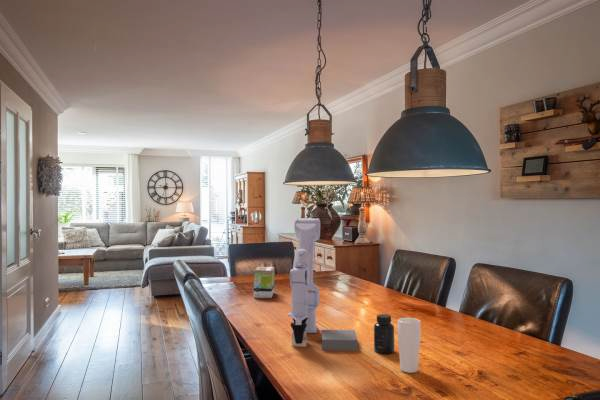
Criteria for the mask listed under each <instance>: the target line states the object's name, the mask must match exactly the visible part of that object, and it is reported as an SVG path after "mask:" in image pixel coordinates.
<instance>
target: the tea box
mask: <svg viewBox="0 0 600 400" xmlns="http://www.w3.org/2000/svg"><path fill="white" fill-rule="evenodd" d="M275 268H276V267H275V266H256V268H255V269H254V273H253V274H254V275H253V276H254V277H253V281H254V282H253V298H255V299H256V298H257V299H259V298H260V299H272V297H273V296H274V293H275Z"/></svg>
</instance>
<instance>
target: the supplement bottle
mask: <svg viewBox="0 0 600 400" xmlns="http://www.w3.org/2000/svg"><path fill="white" fill-rule="evenodd" d="M373 350H374V352H375V353H376V354H380V355H391V354H394V352H395V325H394V324H393V323H392V316H391V315H390V314H385V313H380V314H377V315H376V322H375V324H374V325H373Z"/></svg>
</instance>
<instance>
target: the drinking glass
mask: <svg viewBox="0 0 600 400" xmlns="http://www.w3.org/2000/svg"><path fill="white" fill-rule="evenodd" d="M421 325H422V324H421V320H420V319H418V318H415V317H400V318H398V319H397V341H398V355H399V356H398V357H399V369H400V371H402V372H404V373H406V374H413V373H414V374H415V373H417V372H418V371H419V357H420V348H421V335H422V334H421V333H422V329H421V327H422V326H421Z"/></svg>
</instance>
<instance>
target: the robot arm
mask: <svg viewBox="0 0 600 400" xmlns="http://www.w3.org/2000/svg"><path fill="white" fill-rule="evenodd" d="M293 226H294V227H293V228H294V232H295V236H296V238H297V240H298V250H297V251H295V253H294V257H293V264H292V269H290V272H289V283H290V289H291V312H288V313H287V316H288V317H291V318H292V321H293V322H290V327H291V329H292V330H293V332H294V337H295V342H296V344H302V341H303V334H304V331H305V328H307V334H310V333H311V334H316V333H317V331H318V328H317V327H318V326H317V325H316V324H317V323H316V322H317V320H316V319H317V315H316V314H317V313H316V312H317V308H318V307H319V306H320V300H321V299H320V298H321V296H320V288H319V286H318V285H316V284H315V283H314V281H313V280H314V279H313V278H314V254H315V253H314V252H315V250H314V249H315V243H316V241H318V240H319V241H320V237H321V219H320V218H319V217H317V218H311V217H310V218H305V217H304V218H303V217H300V218H299V217H296V218H295V219H294V225H293Z"/></svg>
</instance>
